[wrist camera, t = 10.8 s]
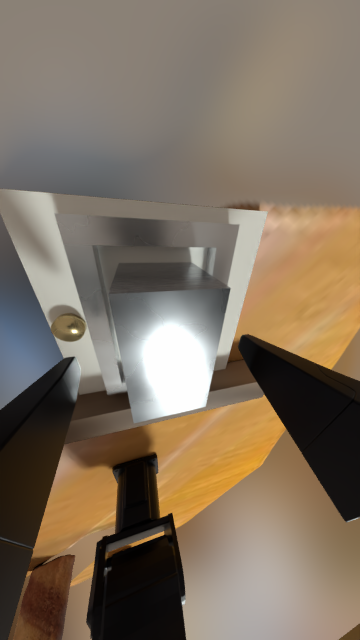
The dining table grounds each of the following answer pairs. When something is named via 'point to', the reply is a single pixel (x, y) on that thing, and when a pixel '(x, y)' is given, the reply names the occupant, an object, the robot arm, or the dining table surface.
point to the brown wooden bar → (115, 415)
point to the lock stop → (167, 334)
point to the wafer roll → (45, 601)
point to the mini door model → (120, 247)
